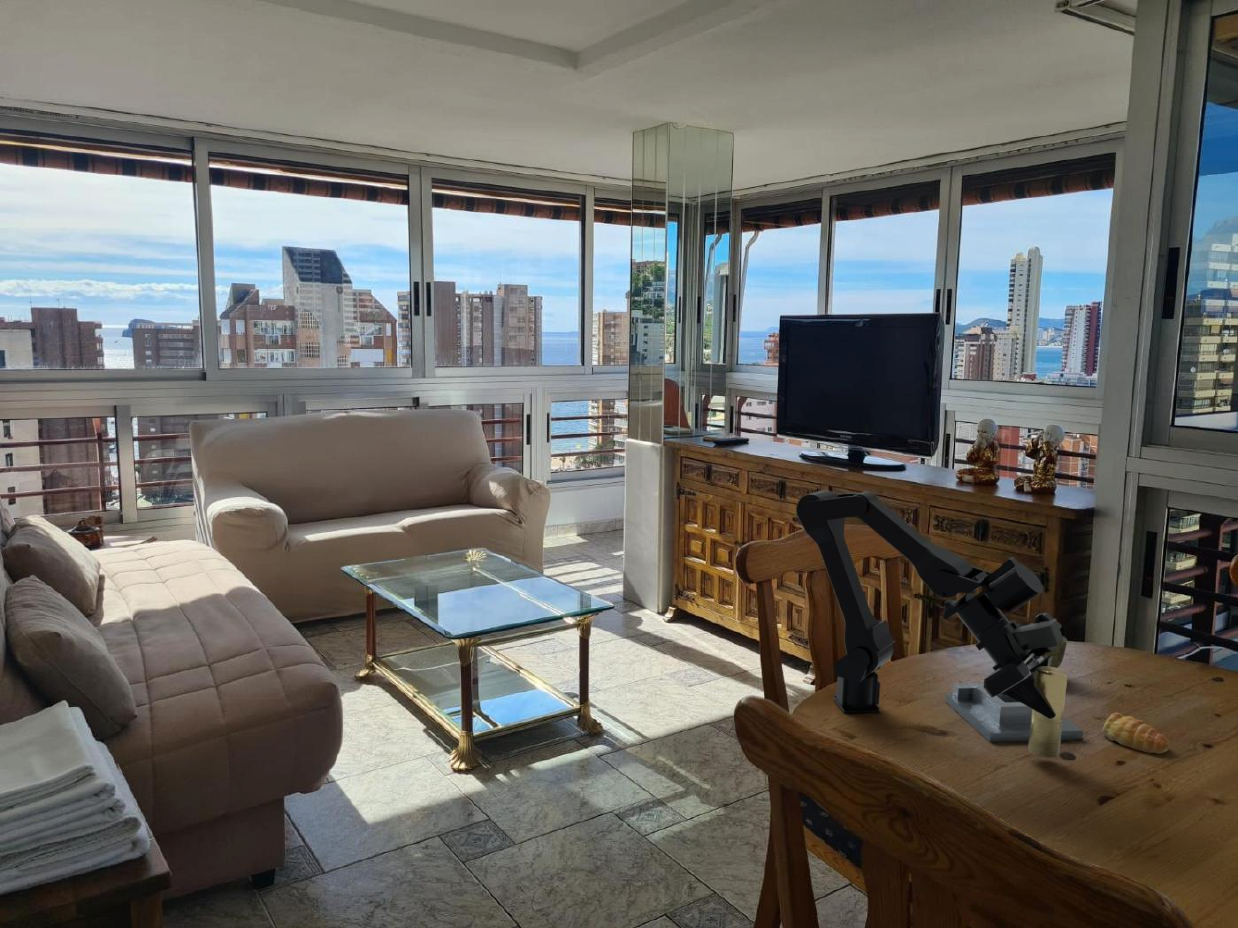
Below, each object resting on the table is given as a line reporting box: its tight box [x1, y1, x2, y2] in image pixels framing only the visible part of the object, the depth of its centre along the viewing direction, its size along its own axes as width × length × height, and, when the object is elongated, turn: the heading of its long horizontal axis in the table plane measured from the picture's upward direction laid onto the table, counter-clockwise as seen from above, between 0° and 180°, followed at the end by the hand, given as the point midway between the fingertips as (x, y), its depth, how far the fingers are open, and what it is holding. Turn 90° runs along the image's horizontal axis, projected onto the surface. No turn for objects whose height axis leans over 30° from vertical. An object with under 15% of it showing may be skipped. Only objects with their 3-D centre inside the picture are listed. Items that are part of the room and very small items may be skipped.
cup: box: [1042, 635, 1068, 669], centre depth 176 cm, size 8×7×8 cm
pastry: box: [1101, 712, 1171, 755], centre depth 148 cm, size 9×7×4 cm
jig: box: [944, 682, 1084, 743], centre depth 156 cm, size 16×16×4 cm
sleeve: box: [1027, 666, 1068, 759], centre depth 140 cm, size 4×4×13 cm
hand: (1057, 712), depth 139 cm, fingers closed on sleeve, 4 cm apart
